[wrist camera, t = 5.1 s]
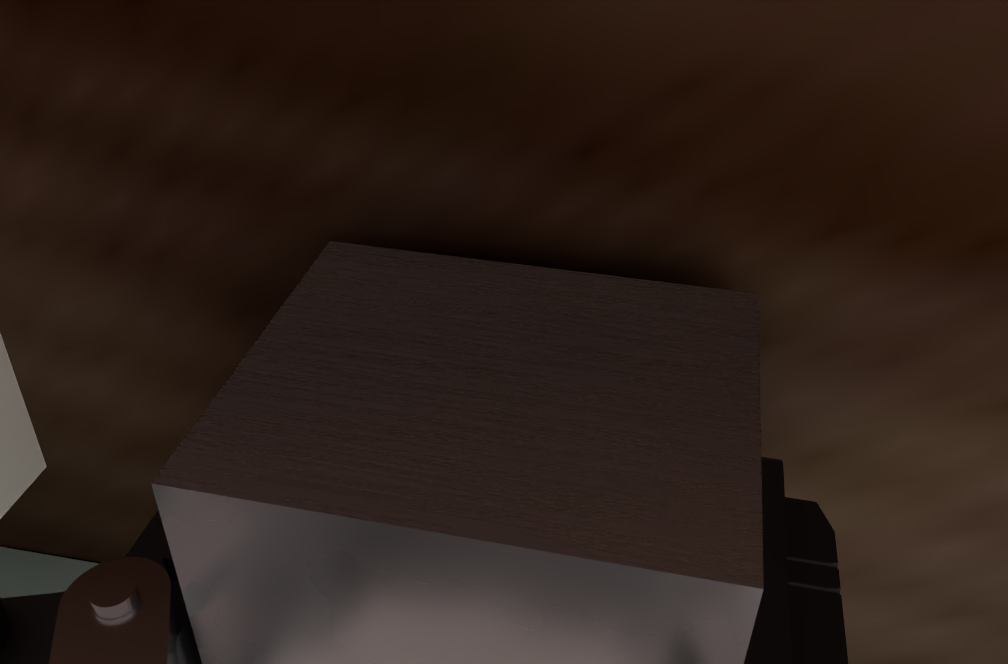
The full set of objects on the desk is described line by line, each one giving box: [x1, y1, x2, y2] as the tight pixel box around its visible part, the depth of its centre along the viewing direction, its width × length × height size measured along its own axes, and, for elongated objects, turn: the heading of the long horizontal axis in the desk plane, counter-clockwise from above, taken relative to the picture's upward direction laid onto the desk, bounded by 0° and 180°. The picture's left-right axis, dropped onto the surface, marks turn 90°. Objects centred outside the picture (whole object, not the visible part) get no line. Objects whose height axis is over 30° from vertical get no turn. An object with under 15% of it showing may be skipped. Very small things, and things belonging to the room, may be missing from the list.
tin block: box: [151, 241, 764, 664], centre depth 13 cm, size 6×6×5 cm
